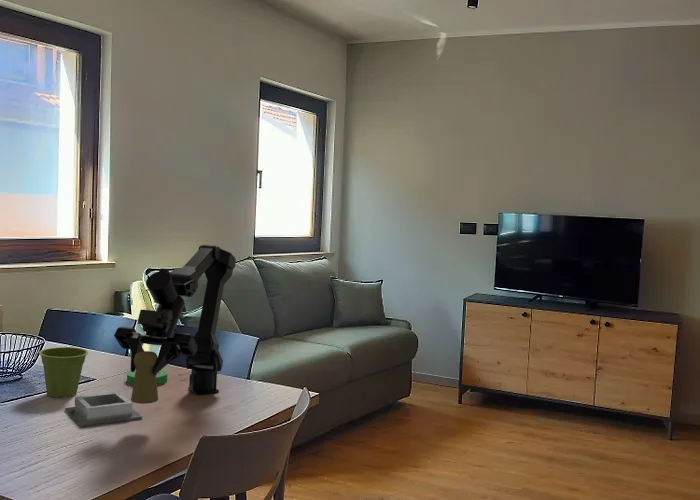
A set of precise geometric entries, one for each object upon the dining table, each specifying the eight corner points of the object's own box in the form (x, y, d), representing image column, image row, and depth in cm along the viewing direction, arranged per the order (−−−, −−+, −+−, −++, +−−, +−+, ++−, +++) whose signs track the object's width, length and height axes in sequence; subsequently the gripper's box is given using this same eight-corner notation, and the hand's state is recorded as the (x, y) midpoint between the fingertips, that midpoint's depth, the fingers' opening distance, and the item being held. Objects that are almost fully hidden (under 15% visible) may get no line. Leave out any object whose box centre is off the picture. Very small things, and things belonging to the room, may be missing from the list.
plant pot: (56, 403, 173) (58, 359, 172) (27, 394, 179) (29, 351, 178) (96, 394, 183) (98, 352, 182) (67, 385, 189) (69, 344, 188)
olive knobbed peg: (150, 404, 155) (152, 356, 154) (125, 401, 156) (127, 353, 155) (163, 397, 160) (164, 350, 160) (139, 394, 162) (140, 348, 161)
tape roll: (119, 381, 198) (119, 371, 198) (152, 375, 206) (153, 366, 206) (140, 389, 191) (141, 380, 191) (174, 383, 199) (175, 374, 199)
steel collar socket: (122, 403, 176) (123, 389, 176) (142, 418, 165) (142, 404, 165) (64, 410, 168) (65, 395, 168) (81, 427, 157) (81, 411, 157)
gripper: (119, 292, 162) (91, 348, 152) (194, 299, 158) (170, 357, 148) (135, 320, 170) (109, 375, 160) (206, 327, 167) (185, 384, 157)
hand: (142, 372), depth 156 cm, fingers closed on olive knobbed peg, 5 cm apart
